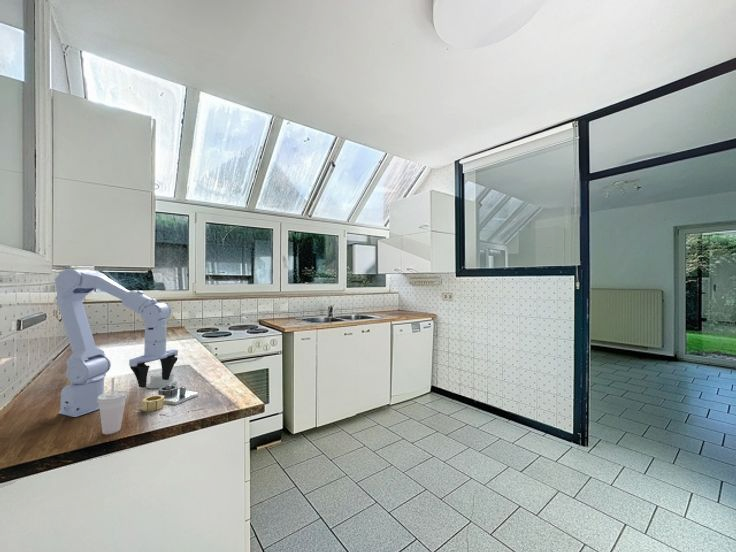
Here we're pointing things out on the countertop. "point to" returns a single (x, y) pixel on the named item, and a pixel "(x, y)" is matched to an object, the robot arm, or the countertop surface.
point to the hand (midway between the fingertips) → (154, 383)
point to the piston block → (175, 394)
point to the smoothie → (112, 409)
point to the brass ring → (153, 403)
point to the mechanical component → (160, 381)
